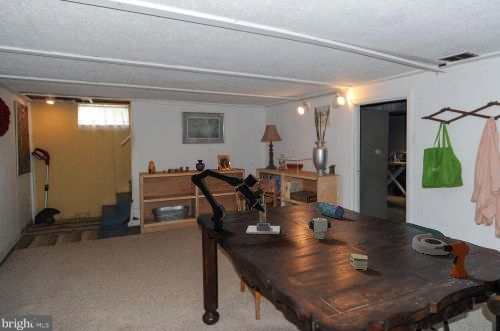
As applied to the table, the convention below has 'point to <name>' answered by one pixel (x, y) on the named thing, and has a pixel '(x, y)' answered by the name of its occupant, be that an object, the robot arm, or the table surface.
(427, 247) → the turbocharger housing
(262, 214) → the birch pin
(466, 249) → the toy drill
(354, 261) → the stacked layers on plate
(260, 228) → the socket plate
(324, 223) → the pneumatic valve
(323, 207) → the pencil case
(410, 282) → the table surface
